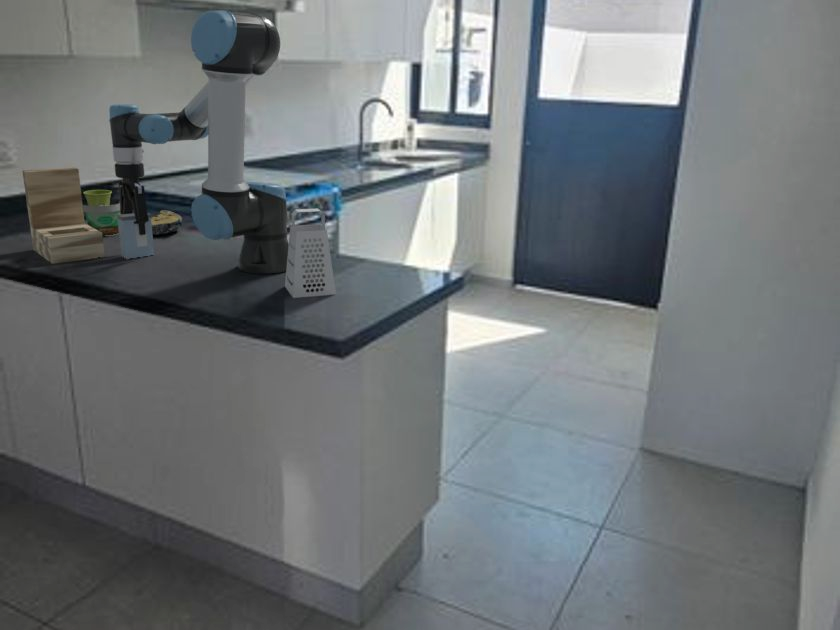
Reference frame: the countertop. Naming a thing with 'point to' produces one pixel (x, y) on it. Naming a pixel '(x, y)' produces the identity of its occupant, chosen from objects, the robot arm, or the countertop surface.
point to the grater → (309, 259)
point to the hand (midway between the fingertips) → (136, 242)
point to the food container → (103, 218)
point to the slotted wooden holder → (59, 216)
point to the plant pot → (98, 197)
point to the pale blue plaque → (133, 237)
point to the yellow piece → (165, 222)
